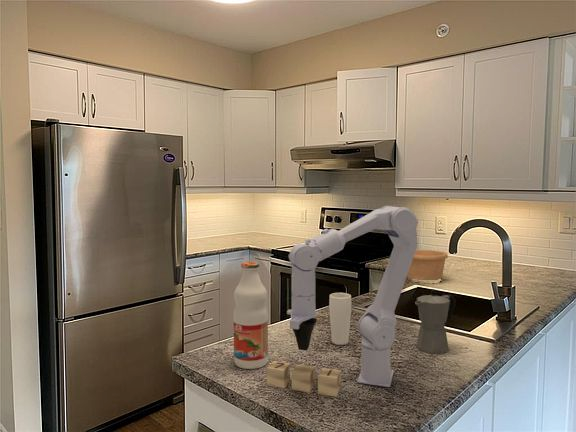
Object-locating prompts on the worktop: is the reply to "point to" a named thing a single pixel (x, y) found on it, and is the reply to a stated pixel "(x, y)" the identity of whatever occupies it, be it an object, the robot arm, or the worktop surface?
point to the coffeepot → (434, 322)
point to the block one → (329, 382)
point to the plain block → (303, 378)
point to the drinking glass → (340, 317)
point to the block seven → (278, 374)
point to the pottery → (427, 265)
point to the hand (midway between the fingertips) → (303, 349)
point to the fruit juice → (250, 319)
